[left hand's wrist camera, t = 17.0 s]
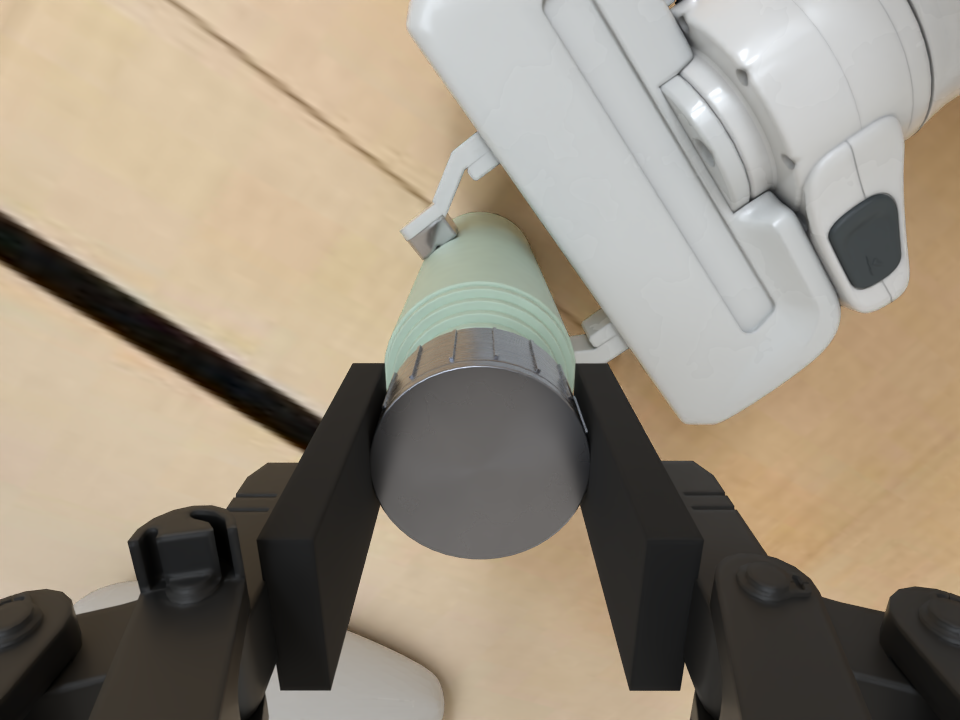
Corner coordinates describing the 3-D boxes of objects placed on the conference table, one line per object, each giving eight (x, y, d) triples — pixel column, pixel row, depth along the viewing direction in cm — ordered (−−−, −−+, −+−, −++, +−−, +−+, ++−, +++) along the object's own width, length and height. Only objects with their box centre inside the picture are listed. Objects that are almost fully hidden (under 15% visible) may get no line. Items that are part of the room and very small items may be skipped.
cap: (350, 374, 14) (325, 422, 12) (528, 293, 13) (537, 325, 11) (439, 522, 16) (431, 589, 13) (603, 455, 15) (625, 513, 13)
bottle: (554, 254, 30) (661, 430, 13) (491, 336, 32) (506, 596, 14) (467, 189, 29) (448, 280, 11) (406, 277, 31) (304, 479, 13)
